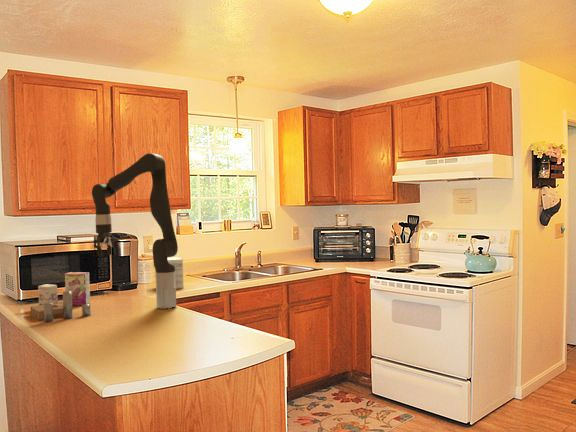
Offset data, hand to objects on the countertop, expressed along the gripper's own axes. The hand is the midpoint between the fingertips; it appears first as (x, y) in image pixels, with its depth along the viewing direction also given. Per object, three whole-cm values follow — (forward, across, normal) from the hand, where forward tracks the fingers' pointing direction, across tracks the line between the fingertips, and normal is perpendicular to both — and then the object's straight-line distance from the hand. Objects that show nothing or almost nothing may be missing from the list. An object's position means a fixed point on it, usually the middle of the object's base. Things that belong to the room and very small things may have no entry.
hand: (104, 255), depth 257 cm
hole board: (+25, -26, +12) cm, 38 cm away
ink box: (+25, -12, +24) cm, 37 cm away
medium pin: (+25, -37, +5) cm, 45 cm away
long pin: (+25, -31, 0) cm, 40 cm away
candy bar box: (+25, -1, +16) cm, 30 cm away
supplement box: (+25, +53, -10) cm, 60 cm away
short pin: (+25, -25, -5) cm, 35 cm away
